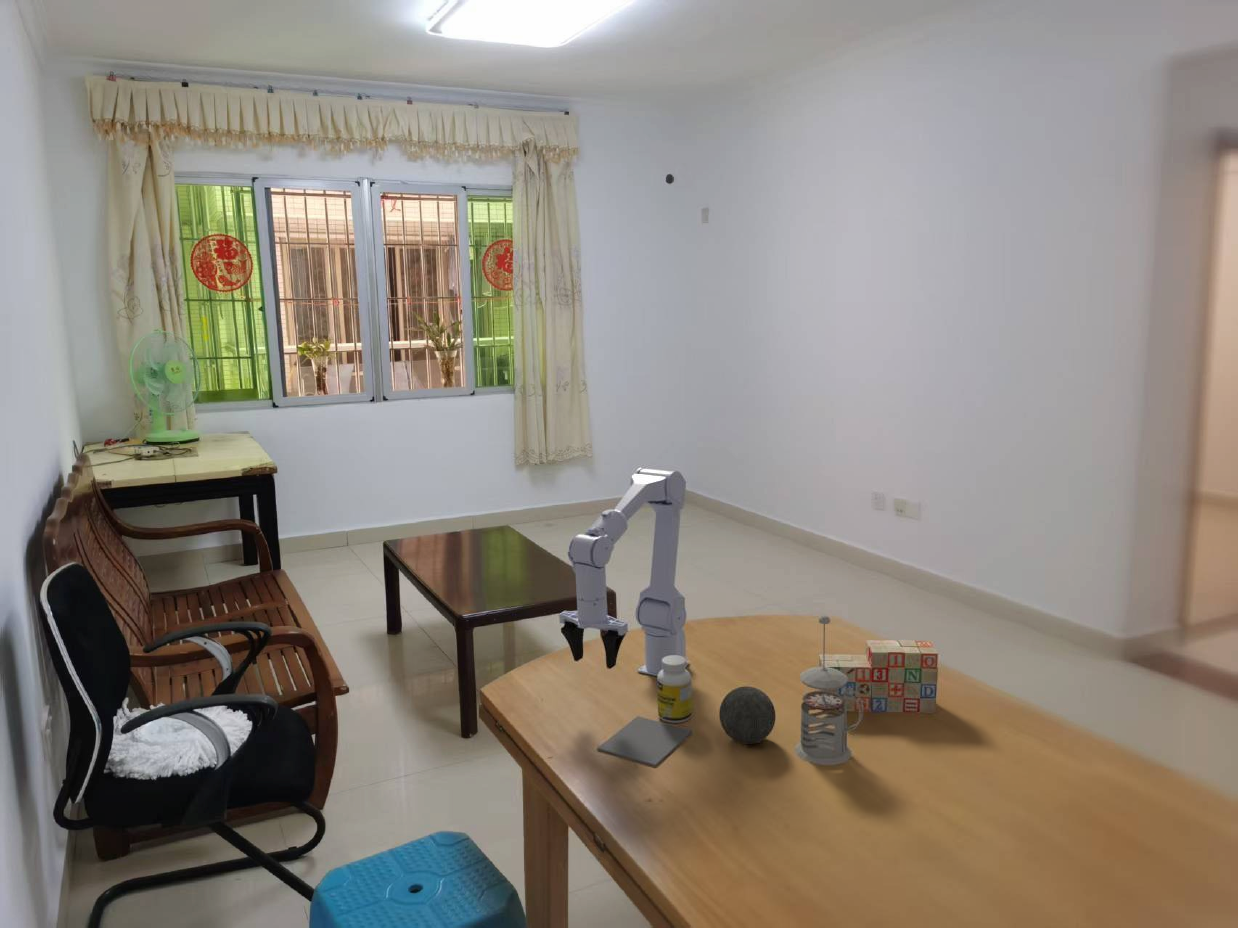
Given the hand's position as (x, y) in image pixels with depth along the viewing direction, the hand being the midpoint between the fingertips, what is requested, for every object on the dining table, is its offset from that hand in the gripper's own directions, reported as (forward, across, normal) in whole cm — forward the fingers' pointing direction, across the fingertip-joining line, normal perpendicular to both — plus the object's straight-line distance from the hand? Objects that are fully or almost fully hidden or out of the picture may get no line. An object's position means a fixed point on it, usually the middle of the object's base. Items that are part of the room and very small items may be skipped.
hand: (594, 662), depth 173 cm
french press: (+10, +45, +6) cm, 46 cm away
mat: (+10, +15, -6) cm, 19 cm away
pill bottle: (+10, +15, +5) cm, 19 cm away
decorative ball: (+10, +31, +3) cm, 32 cm away
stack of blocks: (+11, +47, +28) cm, 55 cm away
